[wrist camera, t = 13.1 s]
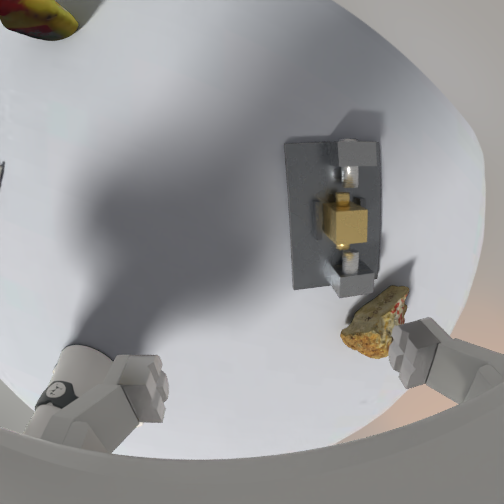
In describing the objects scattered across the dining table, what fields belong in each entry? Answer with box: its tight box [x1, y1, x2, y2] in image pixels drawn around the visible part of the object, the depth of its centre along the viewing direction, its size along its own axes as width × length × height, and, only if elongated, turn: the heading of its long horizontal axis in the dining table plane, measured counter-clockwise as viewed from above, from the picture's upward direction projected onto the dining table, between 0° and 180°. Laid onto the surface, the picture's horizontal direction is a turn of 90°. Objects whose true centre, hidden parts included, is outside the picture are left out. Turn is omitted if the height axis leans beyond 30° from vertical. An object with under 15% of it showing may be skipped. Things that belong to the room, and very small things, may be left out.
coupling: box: [323, 192, 368, 250], centre depth 37 cm, size 7×4×6 cm, turn 5°
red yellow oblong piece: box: [0, 0, 78, 41], centre depth 18 cm, size 12×6×20 cm, turn 57°
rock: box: [340, 285, 409, 359], centre depth 44 cm, size 12×9×10 cm
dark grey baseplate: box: [284, 139, 381, 298], centre depth 38 cm, size 21×13×5 cm, turn 5°
